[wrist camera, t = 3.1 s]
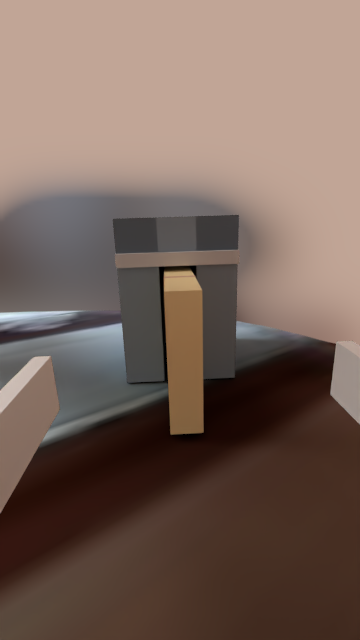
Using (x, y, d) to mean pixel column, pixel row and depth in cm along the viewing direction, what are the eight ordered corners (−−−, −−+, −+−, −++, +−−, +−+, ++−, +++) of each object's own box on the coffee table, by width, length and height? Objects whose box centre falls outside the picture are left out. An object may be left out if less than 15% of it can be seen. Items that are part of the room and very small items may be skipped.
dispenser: (235, 380, 32) (240, 214, 27) (126, 385, 32) (111, 218, 27) (216, 337, 44) (217, 217, 39) (137, 340, 44) (128, 219, 39)
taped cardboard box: (204, 432, 24) (203, 289, 20) (169, 434, 24) (163, 291, 20) (189, 353, 38) (187, 262, 35) (168, 354, 38) (164, 262, 35)
